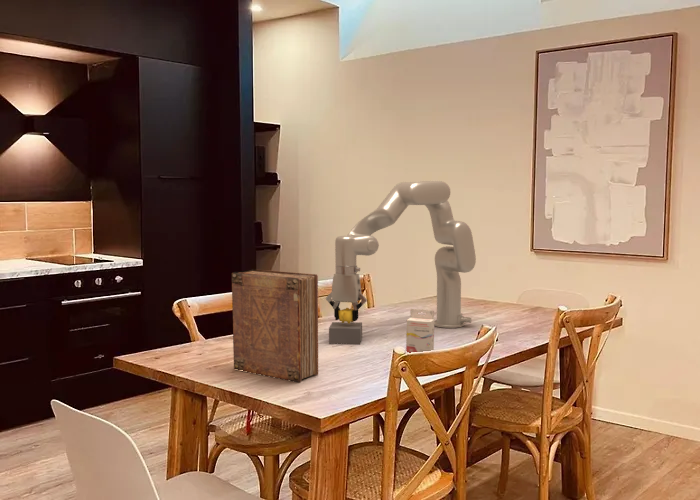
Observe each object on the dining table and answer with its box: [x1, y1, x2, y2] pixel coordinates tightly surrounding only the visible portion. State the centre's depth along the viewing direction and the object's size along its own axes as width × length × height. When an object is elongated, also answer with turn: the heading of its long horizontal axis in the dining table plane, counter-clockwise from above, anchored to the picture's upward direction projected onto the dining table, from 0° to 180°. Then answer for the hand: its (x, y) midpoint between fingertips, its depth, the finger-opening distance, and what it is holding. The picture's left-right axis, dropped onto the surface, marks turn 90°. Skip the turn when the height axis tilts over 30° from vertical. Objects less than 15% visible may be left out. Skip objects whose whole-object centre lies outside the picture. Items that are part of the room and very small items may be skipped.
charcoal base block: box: [328, 321, 363, 346], centre depth 248 cm, size 11×11×6 cm
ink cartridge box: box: [405, 308, 435, 353], centre depth 228 cm, size 9×5×15 cm, turn 71°
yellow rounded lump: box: [338, 307, 354, 323], centre depth 247 cm, size 8×6×5 cm
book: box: [231, 268, 319, 383], centre depth 204 cm, size 25×9×30 cm, turn 57°
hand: (346, 319), depth 247 cm, fingers closed on yellow rounded lump, 5 cm apart
